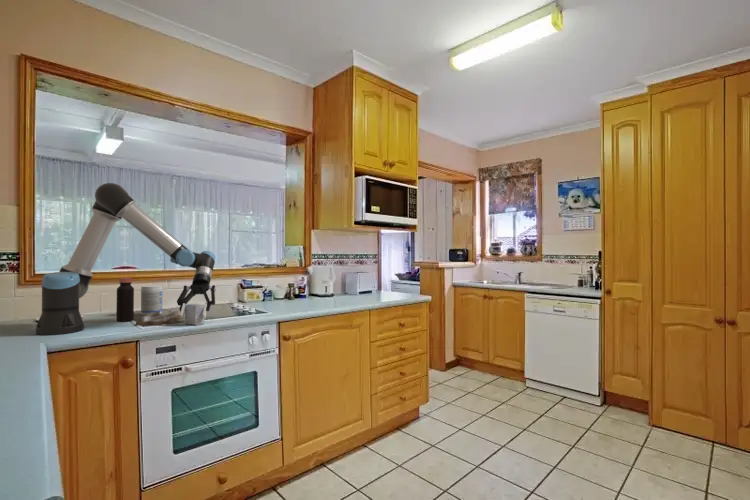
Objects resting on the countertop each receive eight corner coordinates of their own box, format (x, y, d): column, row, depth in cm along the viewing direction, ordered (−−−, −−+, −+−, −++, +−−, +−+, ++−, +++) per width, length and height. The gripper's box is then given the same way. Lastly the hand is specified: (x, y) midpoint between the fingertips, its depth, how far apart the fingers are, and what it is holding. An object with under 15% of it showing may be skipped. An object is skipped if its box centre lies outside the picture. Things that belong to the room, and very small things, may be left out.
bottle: (117, 322, 175) (118, 278, 176) (115, 320, 181) (115, 277, 181) (134, 320, 180) (135, 277, 180) (132, 319, 185) (132, 277, 185)
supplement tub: (164, 314, 199) (165, 286, 199) (143, 316, 192) (144, 287, 192) (159, 312, 206) (159, 284, 206) (138, 314, 199) (138, 285, 199)
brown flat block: (135, 325, 168) (135, 317, 168) (151, 318, 186) (151, 311, 186) (170, 324, 171) (170, 316, 171) (183, 318, 188) (183, 310, 189)
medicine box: (204, 324, 172) (204, 304, 172) (195, 325, 169) (195, 305, 169) (194, 322, 177) (194, 303, 177) (184, 323, 173) (185, 304, 173)
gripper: (226, 282, 190) (219, 321, 174) (180, 283, 186) (168, 322, 170) (224, 272, 185) (217, 311, 169) (176, 272, 181) (164, 312, 165)
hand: (192, 316), depth 169 cm, fingers closed on medicine box, 8 cm apart
